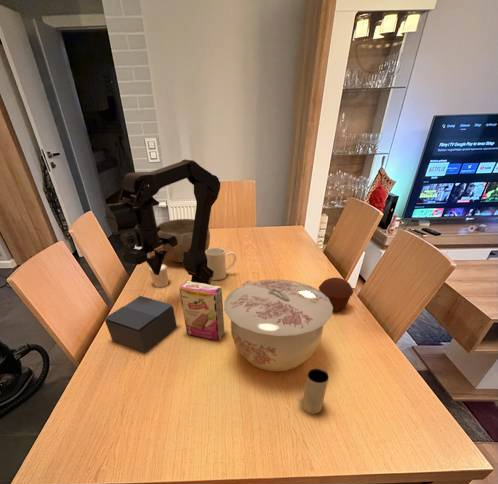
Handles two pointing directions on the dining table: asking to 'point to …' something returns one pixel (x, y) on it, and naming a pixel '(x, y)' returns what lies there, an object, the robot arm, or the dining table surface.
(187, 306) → the candy bar box
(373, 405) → the dining table surface
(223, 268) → the mug
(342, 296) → the muffin
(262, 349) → the chamber pot
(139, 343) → the carton
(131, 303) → the flap
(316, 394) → the grey black-topped cylinder
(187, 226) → the bowl
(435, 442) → the dining table surface
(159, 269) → the robot arm
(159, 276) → the shot glass
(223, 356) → the dining table surface
